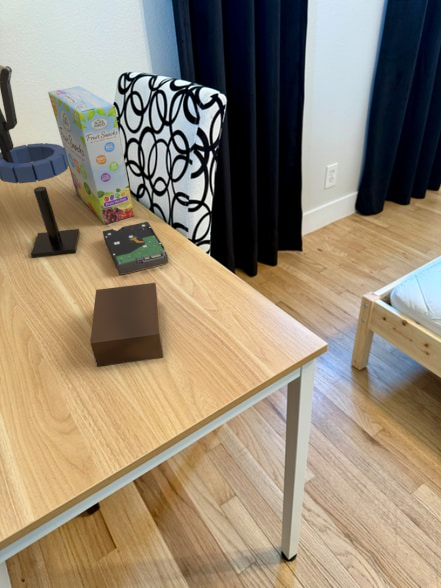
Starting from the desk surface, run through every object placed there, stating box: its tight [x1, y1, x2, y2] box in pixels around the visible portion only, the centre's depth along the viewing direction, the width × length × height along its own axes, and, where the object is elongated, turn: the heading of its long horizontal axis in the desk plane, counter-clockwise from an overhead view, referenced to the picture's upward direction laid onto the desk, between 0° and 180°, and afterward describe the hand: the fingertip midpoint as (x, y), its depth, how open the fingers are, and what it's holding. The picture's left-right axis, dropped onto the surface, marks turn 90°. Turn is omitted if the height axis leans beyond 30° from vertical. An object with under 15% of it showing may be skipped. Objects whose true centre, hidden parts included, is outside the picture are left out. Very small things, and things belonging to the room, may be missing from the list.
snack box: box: [47, 85, 136, 225], centre depth 101 cm, size 22×9×26 cm, turn 33°
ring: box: [0, 142, 69, 184], centre depth 82 cm, size 13×13×3 cm
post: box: [30, 186, 81, 259], centre depth 90 cm, size 9×9×13 cm
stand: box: [89, 282, 164, 367], centre depth 69 cm, size 10×13×5 cm
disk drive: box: [102, 221, 169, 276], centre depth 89 cm, size 10×3×15 cm
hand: (3, 167), depth 82 cm, fingers closed on ring, 2 cm apart
